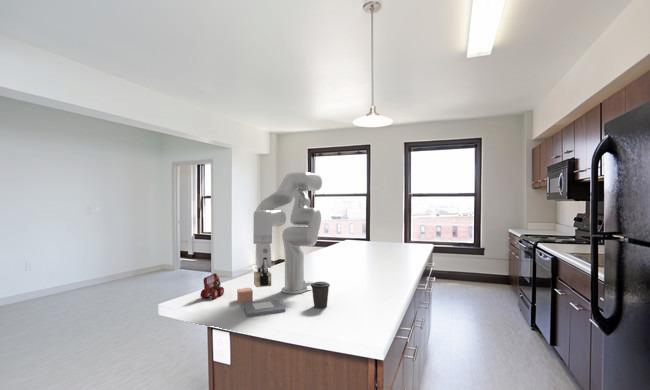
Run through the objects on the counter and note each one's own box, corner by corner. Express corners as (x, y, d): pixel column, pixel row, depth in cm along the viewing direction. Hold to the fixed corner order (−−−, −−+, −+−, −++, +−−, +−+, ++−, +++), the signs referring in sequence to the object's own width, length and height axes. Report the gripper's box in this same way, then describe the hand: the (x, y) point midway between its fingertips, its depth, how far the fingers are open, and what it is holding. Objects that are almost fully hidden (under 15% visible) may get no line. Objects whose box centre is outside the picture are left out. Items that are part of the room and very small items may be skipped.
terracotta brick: (250, 298, 145) (250, 287, 145) (252, 302, 139) (252, 290, 139) (237, 300, 142) (237, 289, 143) (238, 304, 137) (238, 292, 137)
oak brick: (268, 282, 134) (268, 270, 134) (271, 285, 129) (271, 273, 129) (253, 284, 132) (253, 272, 132) (256, 287, 126) (256, 274, 127)
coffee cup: (316, 311, 126) (315, 285, 127) (307, 305, 134) (307, 281, 134) (333, 307, 130) (333, 283, 130) (324, 302, 137) (324, 279, 138)
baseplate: (276, 301, 140) (276, 298, 140) (285, 311, 126) (285, 308, 126) (242, 305, 134) (242, 302, 134) (247, 316, 121) (247, 313, 121)
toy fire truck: (226, 293, 153) (226, 271, 154) (211, 301, 141) (211, 277, 141) (213, 292, 155) (213, 271, 155) (198, 300, 143) (198, 277, 143)
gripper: (276, 241, 124) (276, 287, 124) (267, 237, 140) (267, 278, 140) (257, 242, 122) (257, 289, 121) (250, 238, 138) (250, 280, 137)
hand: (262, 283), depth 130 cm, fingers closed on oak brick, 6 cm apart
